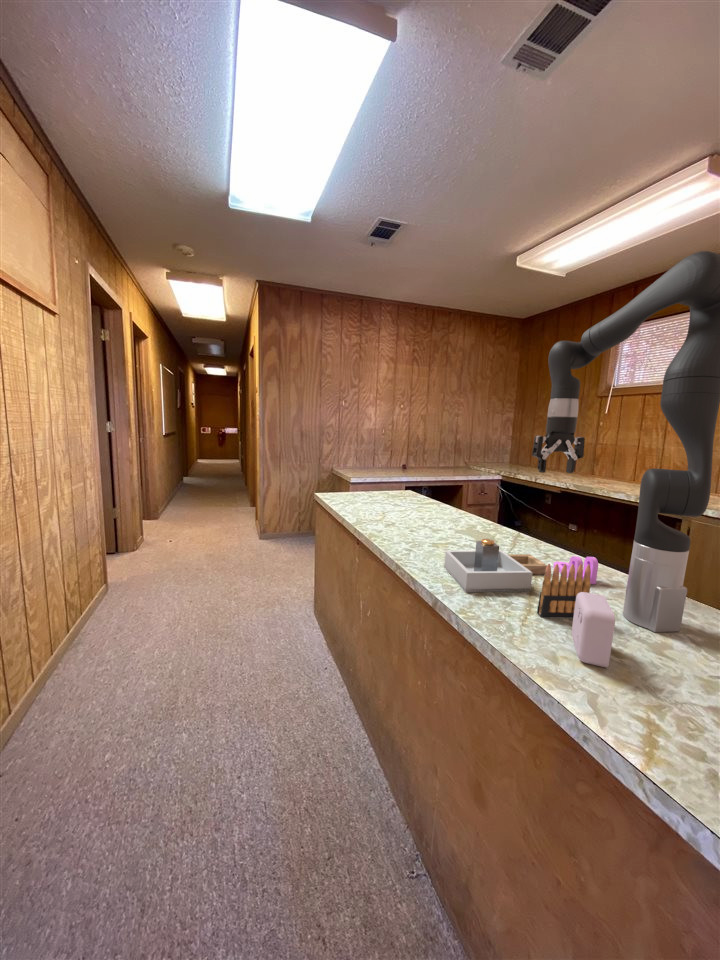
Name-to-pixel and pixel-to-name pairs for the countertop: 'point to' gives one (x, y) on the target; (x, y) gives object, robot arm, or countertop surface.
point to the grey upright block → (486, 555)
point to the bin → (487, 573)
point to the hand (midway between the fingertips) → (555, 472)
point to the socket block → (530, 563)
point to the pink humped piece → (577, 561)
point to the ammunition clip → (562, 591)
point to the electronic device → (593, 629)
